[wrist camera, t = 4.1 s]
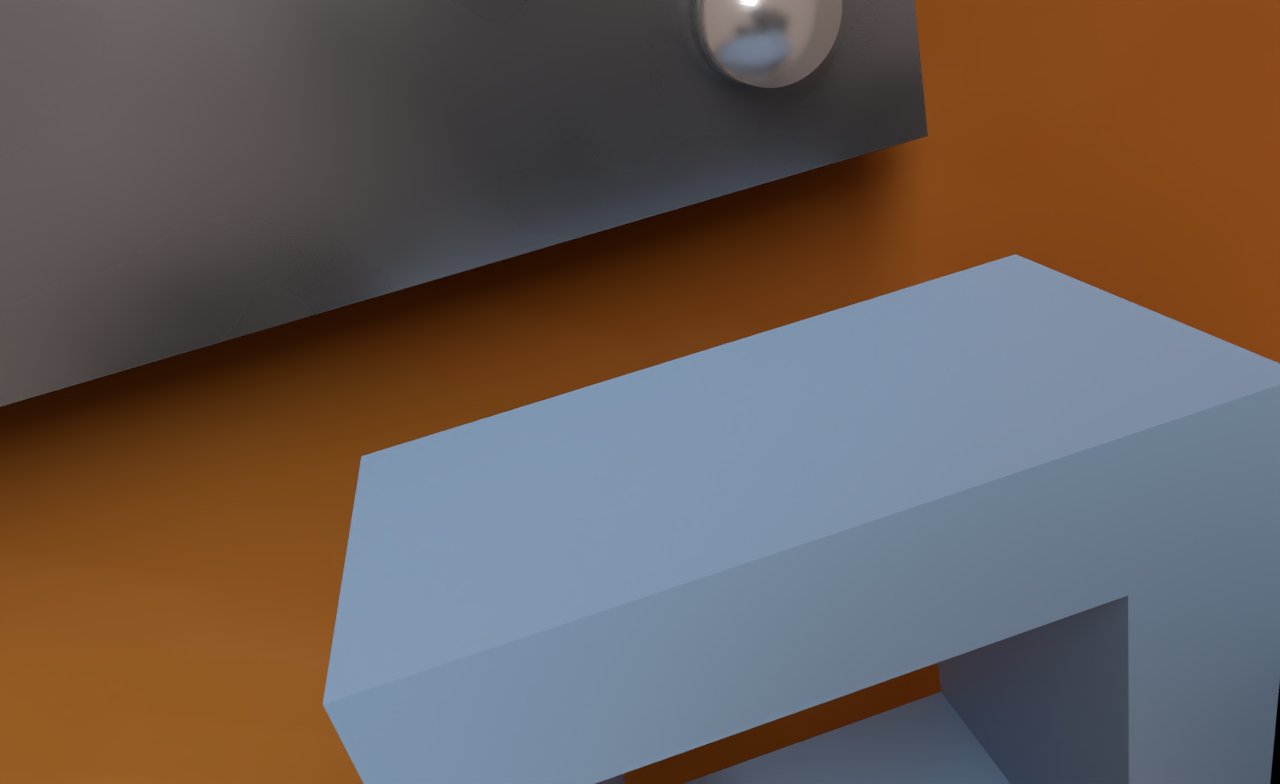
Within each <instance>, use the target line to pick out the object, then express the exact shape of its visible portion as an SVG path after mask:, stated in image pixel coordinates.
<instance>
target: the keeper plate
mask: <svg viewBox="0 0 1280 784" xmlns="http://www.w3.org/2000/svg"><path fill="white" fill-rule="evenodd" d="M925 136H928V135H927V125H926V115H925V104H924V94H923V84H922V73H921V63H920V53H919V42H918V32H917V22H916V11H915V1H914V0H0V407H1V406H5V405H8V404H11V403H15V402H18V401H22V400H25V399H29V398H32V397H35V396H39V395H42V394H46V393H49V392H52V391H56V390H59V389H63V388H66V387H70V386H73V385H76V384H80V383H83V382H87V381H90V380H94V379H97V378H100V377H104V376H107V375H111V374H114V373H118V372H121V371H124V370H128V369H131V368H135V367H138V366H141V365H145V364H148V363H152V362H155V361H159V360H162V359H165V358H169V357H172V356H176V355H179V354H183V353H186V352H189V351H193V350H196V349H200V348H203V347H206V346H210V345H213V344H217V343H220V342H224V341H227V340H230V339H234V338H237V337H241V336H244V335H248V334H251V333H254V332H258V331H261V330H265V329H268V328H272V327H275V326H278V325H282V324H285V323H289V322H292V321H295V320H299V319H302V318H306V317H309V316H313V315H316V314H319V313H323V312H326V311H330V310H333V309H337V308H340V307H343V306H347V305H350V304H354V303H357V302H360V301H364V300H367V299H371V298H374V297H378V296H381V295H384V294H388V293H391V292H395V291H398V290H402V289H405V288H408V287H412V286H415V285H419V284H422V283H426V282H429V281H432V280H436V279H439V278H443V277H446V276H449V275H453V274H456V273H460V272H463V271H467V270H470V269H473V268H477V267H480V266H484V265H487V264H491V263H494V262H497V261H501V260H504V259H508V258H511V257H514V256H518V255H521V254H525V253H528V252H532V251H535V250H538V249H542V248H545V247H549V246H552V245H556V244H559V243H562V242H566V241H569V240H573V239H576V238H580V237H583V236H586V235H590V234H593V233H597V232H600V231H603V230H607V229H610V228H614V227H617V226H621V225H624V224H627V223H631V222H634V221H638V220H641V219H645V218H648V217H651V216H655V215H658V214H662V213H665V212H668V211H672V210H675V209H679V208H682V207H686V206H689V205H692V204H696V203H699V202H703V201H706V200H710V199H713V198H716V197H720V196H723V195H727V194H730V193H734V192H737V191H740V190H744V189H747V188H751V187H754V186H757V185H761V184H764V183H768V182H771V181H775V180H778V179H781V178H785V177H788V176H792V175H795V174H799V173H802V172H805V171H809V170H812V169H816V168H819V167H822V166H826V165H829V164H833V163H836V162H840V161H843V160H846V159H850V158H853V157H857V156H860V155H864V154H867V153H870V152H874V151H877V150H881V149H884V148H888V147H891V146H894V145H898V144H901V143H905V142H908V141H911V140H915V139H918V138H922V137H925Z"/></svg>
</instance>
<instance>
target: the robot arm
mask: <svg viewBox="0 0 1280 784" xmlns="http://www.w3.org/2000/svg"><path fill="white" fill-rule="evenodd" d="M1270 784H1280V682H1279V693H1278V704H1277V715H1276V726H1275V737H1274V748H1273V758H1272V769H1271V780H1270Z"/></svg>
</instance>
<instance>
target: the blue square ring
mask: <svg viewBox="0 0 1280 784" xmlns="http://www.w3.org/2000/svg"><path fill="white" fill-rule="evenodd" d="M935 663H938V671H939V679H940V687H941V692H939V693H936V694H933V695H930V696H927V697H925V698H922V699H919V700H916V701H913V702H911V703H908V704H905V705H902V706H899V707H896V708H894V709H891V710H888V711H885V712H882V713H880V714H877V715H874V716H871V717H868V718H866V719H863V720H860V721H857V722H854V723H852V724H849V725H846V726H843V727H840V728H838V729H835V730H832V731H829V732H826V733H824V734H821V735H818V736H815V737H812V738H810V739H807V740H804V741H801V742H798V743H796V744H793V745H790V746H787V747H784V748H782V749H779V750H776V751H773V752H770V753H768V754H765V755H762V756H759V757H756V758H753V759H751V760H748V761H745V762H742V763H739V764H737V765H734V766H731V767H728V768H725V769H723V770H720V771H717V772H714V773H711V774H709V775H706V776H703V777H700V778H697V779H695V780H692V781H689V782H686V783H683V784H1270V780H1271V769H1272V758H1273V748H1274V737H1275V726H1276V715H1277V704H1278V693H1279V682H1280V364H1279V363H1277V362H1275V361H1272V360H1270V359H1267V358H1265V357H1262V356H1260V355H1258V354H1255V353H1253V352H1250V351H1248V350H1246V349H1243V348H1241V347H1238V346H1236V345H1234V344H1231V343H1229V342H1226V341H1224V340H1221V339H1219V338H1217V337H1214V336H1212V335H1209V334H1207V333H1205V332H1202V331H1200V330H1197V329H1195V328H1192V327H1190V326H1188V325H1185V324H1183V323H1180V322H1178V321H1176V320H1173V319H1171V318H1168V317H1166V316H1163V315H1161V314H1159V313H1156V312H1154V311H1151V310H1149V309H1147V308H1144V307H1142V306H1139V305H1137V304H1135V303H1132V302H1130V301H1127V300H1125V299H1122V298H1120V297H1118V296H1115V295H1113V294H1110V293H1108V292H1106V291H1103V290H1101V289H1098V288H1096V287H1093V286H1091V285H1089V284H1086V283H1084V282H1081V281H1079V280H1077V279H1074V278H1072V277H1069V276H1067V275H1065V274H1062V273H1060V272H1057V271H1055V270H1052V269H1050V268H1048V267H1045V266H1043V265H1040V264H1038V263H1036V262H1033V261H1031V260H1028V259H1026V258H1023V257H1021V256H1019V255H1016V254H1015V255H1012V256H1008V257H1005V258H1002V259H999V260H996V261H992V262H989V263H986V264H983V265H979V266H976V267H973V268H970V269H966V270H963V271H960V272H957V273H953V274H950V275H947V276H944V277H941V278H937V279H934V280H931V281H928V282H924V283H921V284H918V285H915V286H911V287H908V288H905V289H902V290H898V291H895V292H892V293H889V294H885V295H882V296H879V297H876V298H873V299H869V300H866V301H863V302H860V303H856V304H853V305H850V306H847V307H843V308H840V309H837V310H834V311H830V312H827V313H824V314H821V315H817V316H814V317H811V318H808V319H805V320H801V321H798V322H795V323H792V324H788V325H785V326H782V327H779V328H775V329H772V330H769V331H766V332H762V333H759V334H756V335H753V336H750V337H746V338H743V339H740V340H737V341H733V342H730V343H727V344H724V345H720V346H717V347H714V348H711V349H707V350H704V351H701V352H698V353H694V354H691V355H688V356H685V357H682V358H678V359H675V360H672V361H669V362H665V363H662V364H659V365H656V366H652V367H649V368H646V369H643V370H639V371H636V372H633V373H630V374H626V375H623V376H620V377H617V378H614V379H610V380H607V381H604V382H601V383H597V384H594V385H591V386H588V387H584V388H581V389H578V390H575V391H571V392H568V393H565V394H562V395H559V396H555V397H552V398H549V399H546V400H542V401H539V402H536V403H533V404H529V405H526V406H523V407H520V408H516V409H513V410H510V411H507V412H503V413H500V414H497V415H494V416H491V417H487V418H484V419H481V420H478V421H474V422H471V423H468V424H465V425H461V426H458V427H455V428H452V429H448V430H445V431H442V432H439V433H435V434H432V435H429V436H426V437H423V438H419V439H416V440H413V441H410V442H406V443H403V444H400V445H397V446H393V447H390V448H387V449H384V450H380V451H377V452H374V453H371V454H368V455H364V456H361V462H360V469H359V475H358V482H357V488H356V494H355V501H354V507H353V514H352V520H351V526H350V533H349V539H348V546H347V552H346V559H345V565H344V571H343V578H342V584H341V591H340V597H339V603H338V610H337V616H336V623H335V629H334V635H333V642H332V648H331V655H330V661H329V668H328V674H327V680H326V687H325V693H324V700H323V706H324V708H325V710H326V712H327V714H328V716H329V718H330V720H331V721H332V723H333V725H334V727H335V729H336V731H337V733H338V735H339V737H340V739H341V741H342V743H343V745H344V747H345V749H346V750H347V752H348V754H349V756H350V758H351V760H352V762H353V764H354V766H355V768H356V770H357V772H358V774H359V776H360V777H361V779H362V781H363V783H364V784H626V781H625V778H624V775H623V774H624V773H627V772H629V771H632V770H635V769H638V768H641V767H644V766H646V765H649V764H652V763H655V762H658V761H661V760H663V759H666V758H669V757H672V756H675V755H678V754H680V753H683V752H686V751H689V750H692V749H695V748H697V747H700V746H703V745H706V744H709V743H712V742H714V741H717V740H720V739H723V738H726V737H729V736H731V735H734V734H737V733H740V732H743V731H746V730H748V729H751V728H754V727H757V726H760V725H763V724H765V723H768V722H771V721H774V720H777V719H780V718H782V717H785V716H788V715H791V714H794V713H797V712H799V711H802V710H805V709H808V708H811V707H813V706H816V705H819V704H822V703H825V702H828V701H830V700H833V699H836V698H839V697H842V696H845V695H847V694H850V693H853V692H856V691H859V690H862V689H864V688H867V687H870V686H873V685H876V684H879V683H881V682H884V681H887V680H890V679H893V678H896V677H898V676H901V675H904V674H907V673H910V672H913V671H915V670H918V669H921V668H924V667H927V666H930V665H932V664H935Z"/></svg>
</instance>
